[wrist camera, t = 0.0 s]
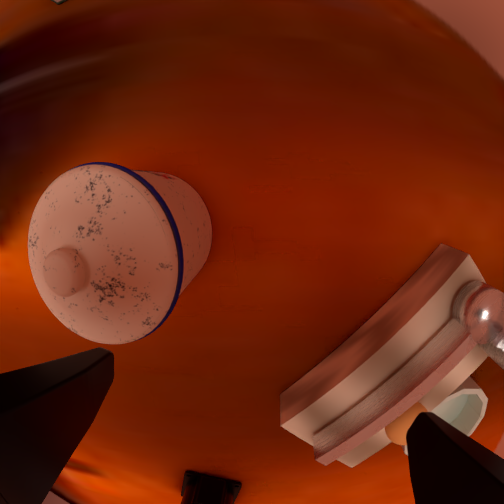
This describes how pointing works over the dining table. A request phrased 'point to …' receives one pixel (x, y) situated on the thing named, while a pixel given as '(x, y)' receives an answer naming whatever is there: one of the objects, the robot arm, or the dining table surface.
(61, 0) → the coffee box
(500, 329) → the lever
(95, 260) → the teacup with lid
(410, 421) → the ball
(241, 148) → the dining table surface
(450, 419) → the small white bowl
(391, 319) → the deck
